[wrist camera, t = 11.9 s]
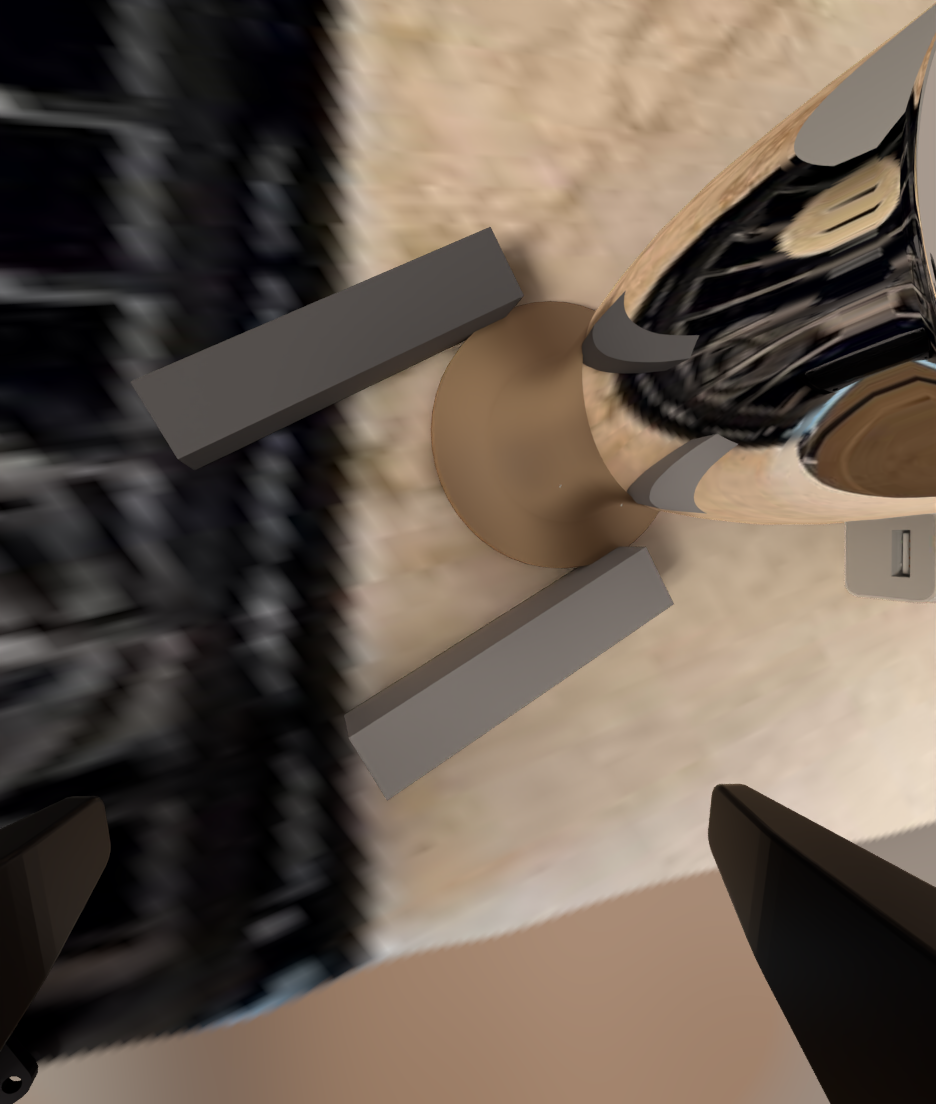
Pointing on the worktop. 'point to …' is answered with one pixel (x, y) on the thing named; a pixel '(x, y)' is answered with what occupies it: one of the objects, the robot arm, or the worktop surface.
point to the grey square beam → (503, 667)
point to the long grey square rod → (328, 349)
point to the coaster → (466, 449)
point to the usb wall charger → (892, 559)
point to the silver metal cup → (762, 332)
